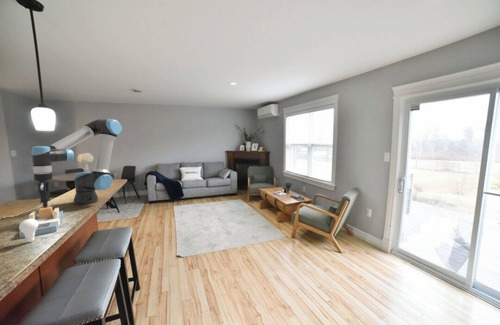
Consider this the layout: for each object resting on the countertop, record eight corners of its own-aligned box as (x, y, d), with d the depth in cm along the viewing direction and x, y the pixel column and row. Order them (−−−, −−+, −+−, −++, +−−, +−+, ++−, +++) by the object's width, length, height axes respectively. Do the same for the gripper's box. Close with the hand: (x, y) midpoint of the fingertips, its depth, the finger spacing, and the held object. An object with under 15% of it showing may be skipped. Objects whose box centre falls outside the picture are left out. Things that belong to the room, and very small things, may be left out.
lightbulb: (34, 244, 94) (31, 221, 93) (17, 246, 92) (14, 222, 91) (43, 238, 100) (41, 216, 99) (27, 239, 98) (24, 217, 97)
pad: (27, 228, 110) (26, 223, 110) (60, 223, 118) (59, 217, 117) (24, 232, 106) (23, 226, 105) (58, 226, 113) (58, 221, 113)
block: (41, 216, 120) (40, 207, 119) (52, 214, 123) (52, 206, 122) (39, 218, 116) (38, 210, 115) (51, 217, 119) (50, 208, 118)
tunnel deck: (33, 219, 122) (32, 208, 121) (63, 215, 129) (62, 204, 129) (19, 238, 99) (18, 224, 99) (56, 231, 107) (55, 218, 106)
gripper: (36, 171, 122) (39, 210, 124) (30, 175, 112) (34, 217, 114) (53, 171, 126) (56, 208, 129) (49, 174, 116) (53, 214, 118)
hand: (46, 212), depth 121 cm, fingers closed
